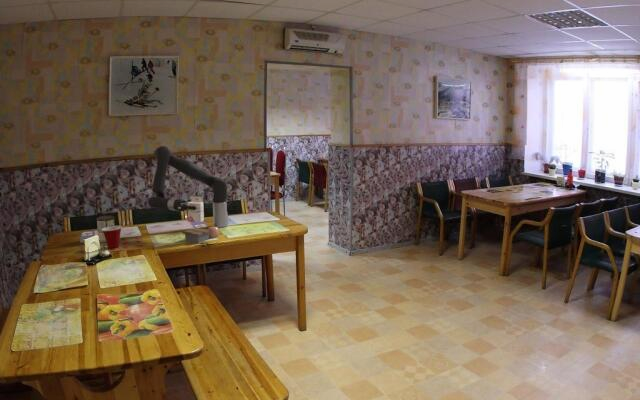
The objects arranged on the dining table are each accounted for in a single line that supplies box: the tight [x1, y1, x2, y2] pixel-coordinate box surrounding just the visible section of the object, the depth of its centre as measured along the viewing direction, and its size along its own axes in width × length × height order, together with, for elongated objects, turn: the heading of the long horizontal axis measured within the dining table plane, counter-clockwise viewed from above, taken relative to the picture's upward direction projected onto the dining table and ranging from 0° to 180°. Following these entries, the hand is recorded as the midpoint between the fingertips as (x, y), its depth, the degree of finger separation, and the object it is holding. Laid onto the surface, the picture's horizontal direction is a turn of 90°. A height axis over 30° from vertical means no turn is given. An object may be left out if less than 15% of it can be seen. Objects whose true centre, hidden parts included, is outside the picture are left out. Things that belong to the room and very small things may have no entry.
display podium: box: [182, 227, 211, 244], centre depth 284 cm, size 12×12×6 cm
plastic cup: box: [102, 225, 122, 250], centre depth 267 cm, size 11×11×12 cm
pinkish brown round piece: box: [207, 226, 220, 239], centre depth 292 cm, size 6×6×6 cm
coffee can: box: [95, 215, 116, 243], centre depth 284 cm, size 10×10×14 cm
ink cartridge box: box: [187, 196, 205, 223], centre depth 281 cm, size 9×5×15 cm, turn 81°
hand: (198, 207), depth 280 cm, fingers closed on ink cartridge box, 6 cm apart
